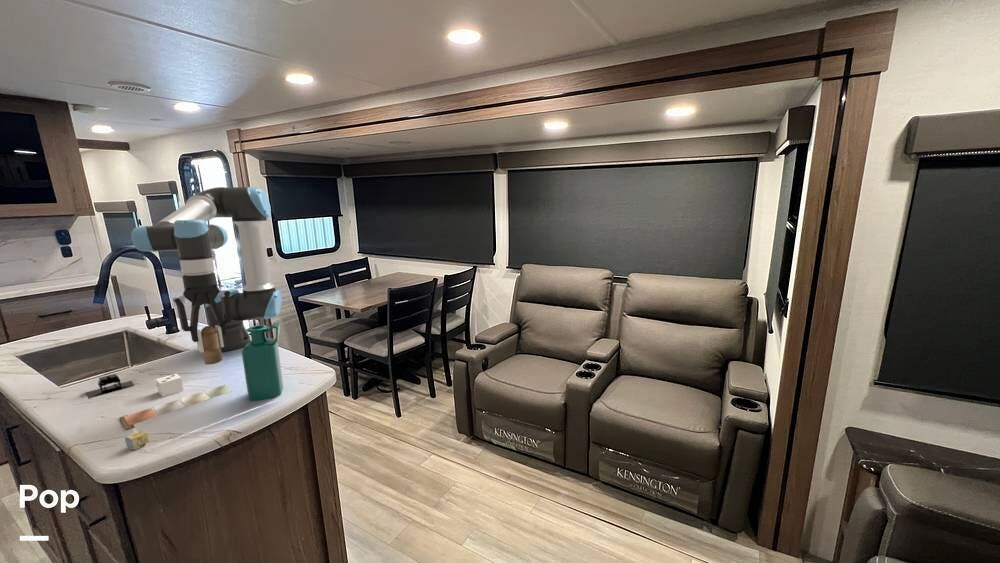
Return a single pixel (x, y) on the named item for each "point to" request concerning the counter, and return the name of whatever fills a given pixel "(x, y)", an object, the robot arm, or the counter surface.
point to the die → (169, 385)
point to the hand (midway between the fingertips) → (211, 348)
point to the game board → (172, 406)
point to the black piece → (105, 390)
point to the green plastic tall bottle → (262, 364)
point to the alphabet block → (136, 440)
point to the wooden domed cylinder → (211, 345)
